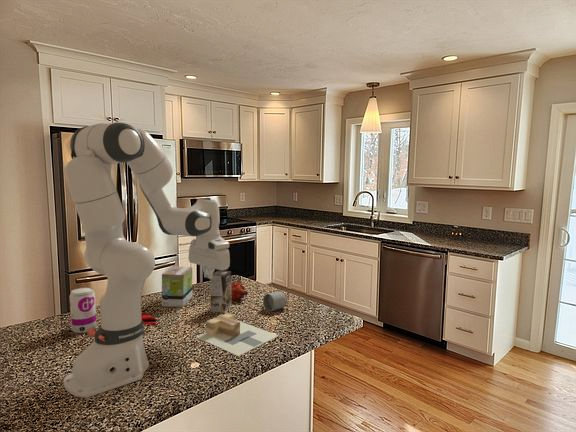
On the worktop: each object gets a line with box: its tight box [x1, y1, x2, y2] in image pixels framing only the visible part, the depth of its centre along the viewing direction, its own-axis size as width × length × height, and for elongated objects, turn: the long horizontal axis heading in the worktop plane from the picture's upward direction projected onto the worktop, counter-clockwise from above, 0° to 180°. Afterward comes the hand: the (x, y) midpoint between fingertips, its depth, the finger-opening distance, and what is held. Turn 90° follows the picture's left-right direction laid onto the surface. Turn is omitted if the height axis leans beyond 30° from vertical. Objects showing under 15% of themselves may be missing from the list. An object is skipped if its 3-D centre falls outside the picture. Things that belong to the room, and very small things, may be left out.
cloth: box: [141, 312, 158, 326], centre depth 152 cm, size 26×14×2 cm, turn 40°
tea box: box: [161, 266, 193, 308], centre depth 171 cm, size 15×10×15 cm
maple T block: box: [205, 312, 241, 337], centre depth 137 cm, size 11×10×4 cm
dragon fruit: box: [231, 281, 249, 302], centre depth 176 cm, size 8×8×12 cm
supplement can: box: [68, 287, 97, 334], centre depth 139 cm, size 8×8×15 cm
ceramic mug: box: [262, 291, 288, 312], centre depth 164 cm, size 11×8×8 cm
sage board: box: [195, 319, 280, 357], centre depth 134 cm, size 20×22×1 cm
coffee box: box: [209, 270, 232, 313], centre depth 161 cm, size 9×6×16 cm
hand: (208, 277), depth 142 cm, fingers closed
